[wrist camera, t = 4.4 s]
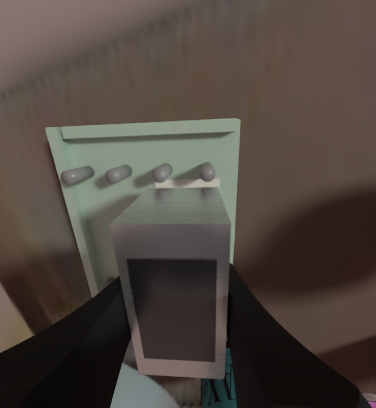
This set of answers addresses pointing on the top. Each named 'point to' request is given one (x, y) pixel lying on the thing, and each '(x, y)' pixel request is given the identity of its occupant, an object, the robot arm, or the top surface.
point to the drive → (176, 279)
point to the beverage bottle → (219, 388)
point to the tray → (137, 175)
